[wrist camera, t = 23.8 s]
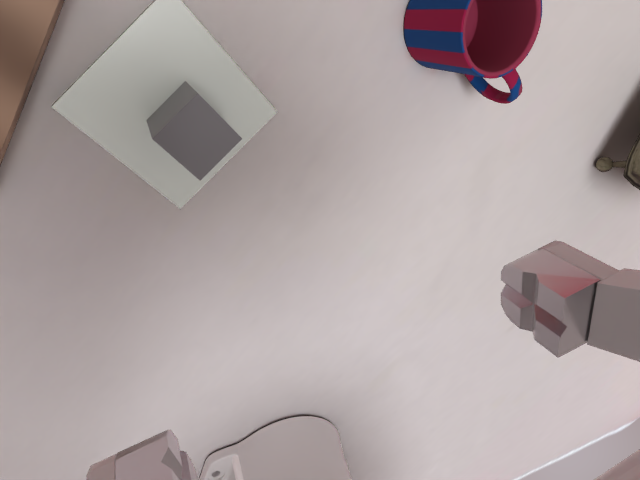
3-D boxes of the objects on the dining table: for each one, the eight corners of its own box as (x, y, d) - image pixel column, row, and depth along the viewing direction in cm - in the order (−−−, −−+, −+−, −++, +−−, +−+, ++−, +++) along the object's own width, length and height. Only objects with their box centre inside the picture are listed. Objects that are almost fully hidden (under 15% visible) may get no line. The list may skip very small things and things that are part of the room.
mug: (462, -46, 33) (533, -58, 27) (491, 76, 38) (555, 86, 33) (390, 2, 32) (449, 0, 27) (430, 118, 38) (485, 137, 32)
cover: (178, 203, 33) (190, 238, 28) (53, 103, 27) (40, 125, 22) (272, 108, 33) (302, 127, 28) (167, -13, 27) (180, -18, 22)
